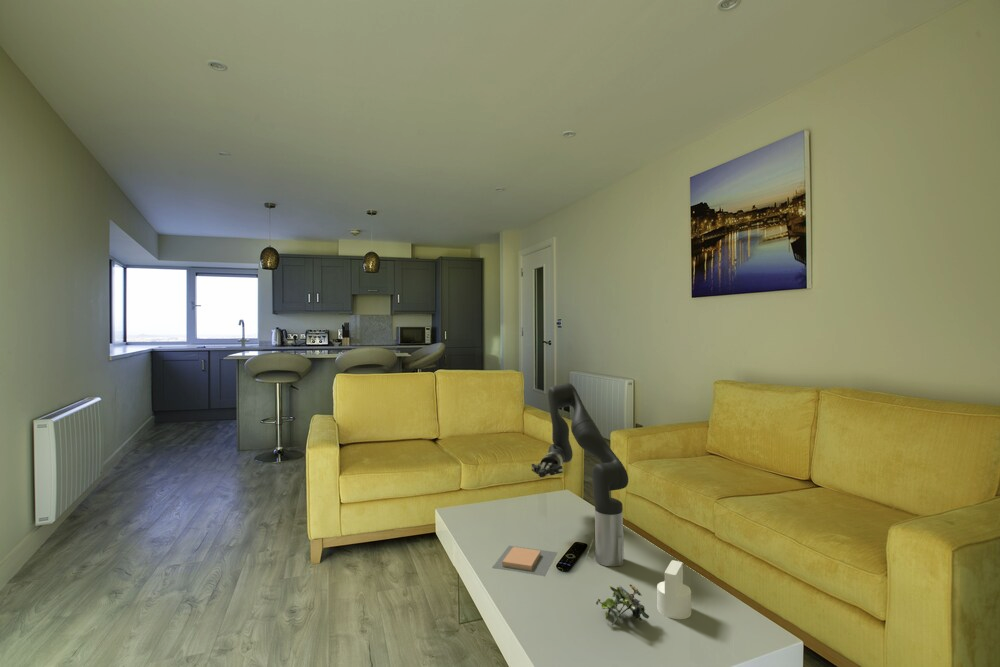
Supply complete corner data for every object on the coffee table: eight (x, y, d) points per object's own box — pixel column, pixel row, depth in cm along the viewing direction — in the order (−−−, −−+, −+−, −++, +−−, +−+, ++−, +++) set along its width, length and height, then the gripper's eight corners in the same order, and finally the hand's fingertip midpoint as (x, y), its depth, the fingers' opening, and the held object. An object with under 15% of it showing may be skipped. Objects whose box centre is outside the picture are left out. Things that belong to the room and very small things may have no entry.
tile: (540, 550, 175) (531, 565, 164) (540, 555, 175) (531, 570, 164) (513, 546, 178) (502, 561, 167) (513, 551, 178) (502, 566, 167)
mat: (557, 553, 177) (557, 552, 177) (544, 577, 160) (544, 575, 160) (508, 546, 183) (508, 545, 183) (491, 568, 166) (491, 567, 166)
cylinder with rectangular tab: (687, 622, 135) (687, 578, 135) (653, 613, 139) (653, 570, 139) (694, 607, 142) (693, 564, 142) (661, 598, 147) (661, 557, 147)
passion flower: (635, 637, 137) (659, 612, 132) (607, 644, 131) (631, 617, 127) (613, 598, 146) (635, 572, 141) (585, 602, 140) (608, 576, 135)
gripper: (535, 452, 207) (524, 463, 190) (567, 454, 202) (558, 466, 186) (536, 470, 207) (524, 483, 190) (568, 473, 202) (558, 486, 186)
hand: (541, 474), depth 188 cm, fingers closed
